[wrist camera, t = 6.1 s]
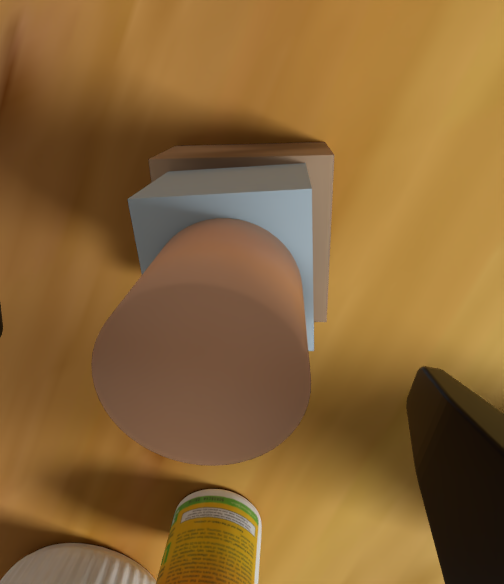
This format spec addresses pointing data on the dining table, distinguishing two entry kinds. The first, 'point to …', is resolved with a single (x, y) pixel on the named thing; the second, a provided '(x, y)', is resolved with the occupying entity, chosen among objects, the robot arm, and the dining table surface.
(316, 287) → the walnut base block
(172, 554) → the supplement bottle
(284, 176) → the slate block
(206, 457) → the terracotta dowel
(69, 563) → the ramekin
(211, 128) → the dining table surface
